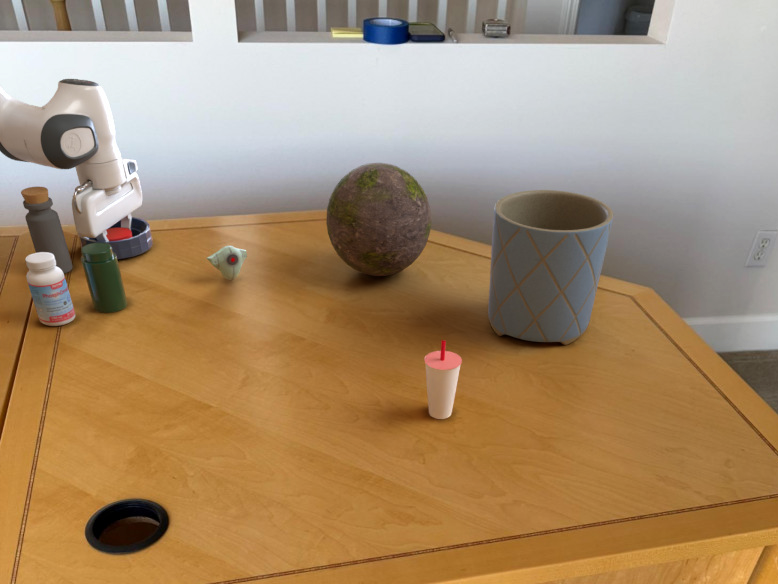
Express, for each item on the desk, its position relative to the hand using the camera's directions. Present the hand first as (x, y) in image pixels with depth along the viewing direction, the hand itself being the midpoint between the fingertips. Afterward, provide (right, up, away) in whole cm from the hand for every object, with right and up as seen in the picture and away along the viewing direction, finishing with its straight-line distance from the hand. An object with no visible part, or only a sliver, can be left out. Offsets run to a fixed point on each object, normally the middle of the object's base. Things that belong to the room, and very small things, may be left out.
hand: (117, 243), depth 160 cm
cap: (0, +1, -1) cm, 2 cm away
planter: (+83, -23, -22) cm, 89 cm away
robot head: (+26, -11, -10) cm, 30 cm away
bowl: (0, -1, +1) cm, 1 cm away
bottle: (-9, -8, -7) cm, 14 cm away
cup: (+65, -42, -44) cm, 89 cm away
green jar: (+6, -18, -19) cm, 27 cm away
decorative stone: (+54, -8, -6) cm, 55 cm away
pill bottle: (-2, -22, -23) cm, 32 cm away
